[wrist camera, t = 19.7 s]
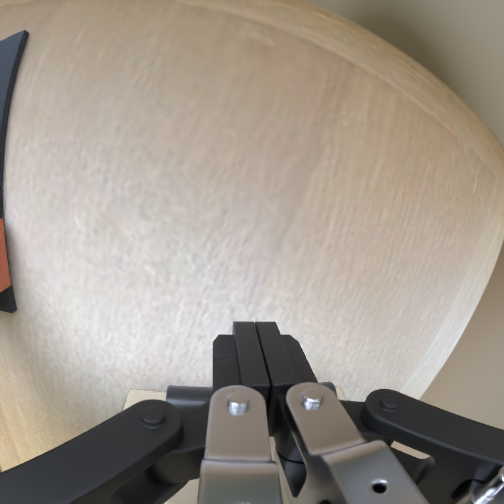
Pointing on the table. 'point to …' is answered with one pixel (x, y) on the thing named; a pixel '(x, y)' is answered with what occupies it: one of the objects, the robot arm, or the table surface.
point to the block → (3, 261)
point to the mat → (3, 77)
